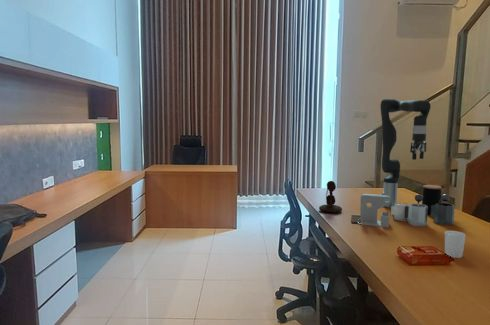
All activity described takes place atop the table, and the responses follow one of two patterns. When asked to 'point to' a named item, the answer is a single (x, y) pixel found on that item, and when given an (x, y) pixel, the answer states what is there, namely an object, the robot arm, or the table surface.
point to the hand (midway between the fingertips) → (417, 159)
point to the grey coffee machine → (374, 210)
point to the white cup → (454, 243)
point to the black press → (443, 211)
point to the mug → (399, 211)
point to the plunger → (418, 199)
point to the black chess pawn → (330, 200)
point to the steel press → (416, 214)
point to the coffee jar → (431, 196)
